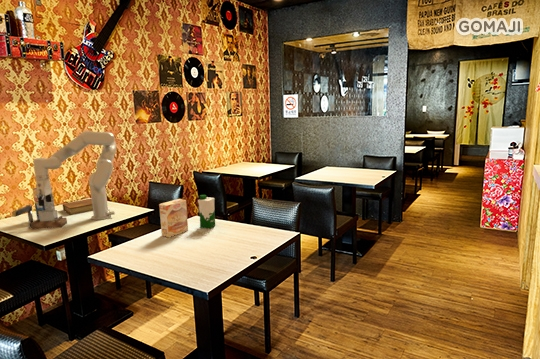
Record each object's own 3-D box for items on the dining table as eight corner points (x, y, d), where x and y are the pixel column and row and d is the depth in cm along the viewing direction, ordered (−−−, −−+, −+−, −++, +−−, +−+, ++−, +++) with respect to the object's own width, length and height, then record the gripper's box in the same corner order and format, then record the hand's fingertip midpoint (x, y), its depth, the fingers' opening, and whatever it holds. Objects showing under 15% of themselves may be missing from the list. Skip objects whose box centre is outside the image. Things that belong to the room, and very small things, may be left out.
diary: (95, 204, 301) (94, 197, 300) (103, 209, 288) (102, 201, 286) (63, 210, 286) (62, 203, 285) (70, 215, 272) (69, 207, 271)
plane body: (67, 223, 253) (66, 215, 252) (61, 227, 245) (60, 219, 243) (38, 224, 252) (37, 217, 250) (31, 229, 243) (30, 221, 242)
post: (36, 226, 249) (33, 209, 247) (33, 227, 245) (31, 211, 243) (30, 226, 249) (28, 210, 246) (27, 228, 245) (25, 211, 243)
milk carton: (204, 223, 245) (203, 193, 241) (217, 224, 242) (215, 194, 238) (198, 228, 237) (196, 196, 233) (211, 229, 234) (209, 197, 230)
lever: (16, 216, 231) (15, 211, 230) (11, 216, 231) (10, 211, 230) (33, 209, 246) (32, 204, 245) (28, 209, 246) (27, 204, 246)
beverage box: (46, 222, 257) (41, 190, 253) (37, 220, 262) (32, 188, 258) (56, 219, 263) (51, 188, 259) (46, 217, 268) (42, 186, 264)
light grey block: (58, 218, 250) (56, 208, 249) (54, 221, 245) (53, 211, 244) (43, 219, 249) (42, 209, 248) (39, 221, 244) (38, 211, 243)
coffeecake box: (168, 237, 221) (166, 205, 217) (161, 235, 225) (158, 203, 221) (188, 230, 233) (186, 199, 229) (181, 228, 237) (178, 198, 233)
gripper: (42, 180, 233) (45, 207, 237) (54, 175, 250) (57, 200, 253) (29, 180, 233) (32, 207, 236) (42, 175, 249) (45, 200, 253)
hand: (45, 203), depth 245 cm, fingers open, 9 cm apart
